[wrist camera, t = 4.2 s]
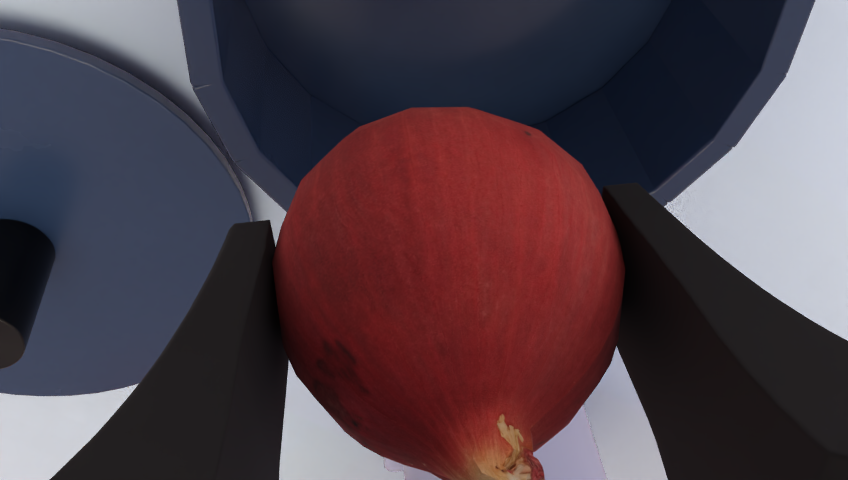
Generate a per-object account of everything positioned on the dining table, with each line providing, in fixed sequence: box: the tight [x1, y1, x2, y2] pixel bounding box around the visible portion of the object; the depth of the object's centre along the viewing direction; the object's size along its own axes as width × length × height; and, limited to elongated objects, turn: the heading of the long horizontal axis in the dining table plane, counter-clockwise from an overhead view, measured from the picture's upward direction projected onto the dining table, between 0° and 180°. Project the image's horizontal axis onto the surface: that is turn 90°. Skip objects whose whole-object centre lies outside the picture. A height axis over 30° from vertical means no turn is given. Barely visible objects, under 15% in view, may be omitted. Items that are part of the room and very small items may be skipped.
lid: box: [0, 28, 253, 396], centre depth 24 cm, size 14×14×5 cm
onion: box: [272, 107, 625, 480], centre depth 14 cm, size 6×6×8 cm
